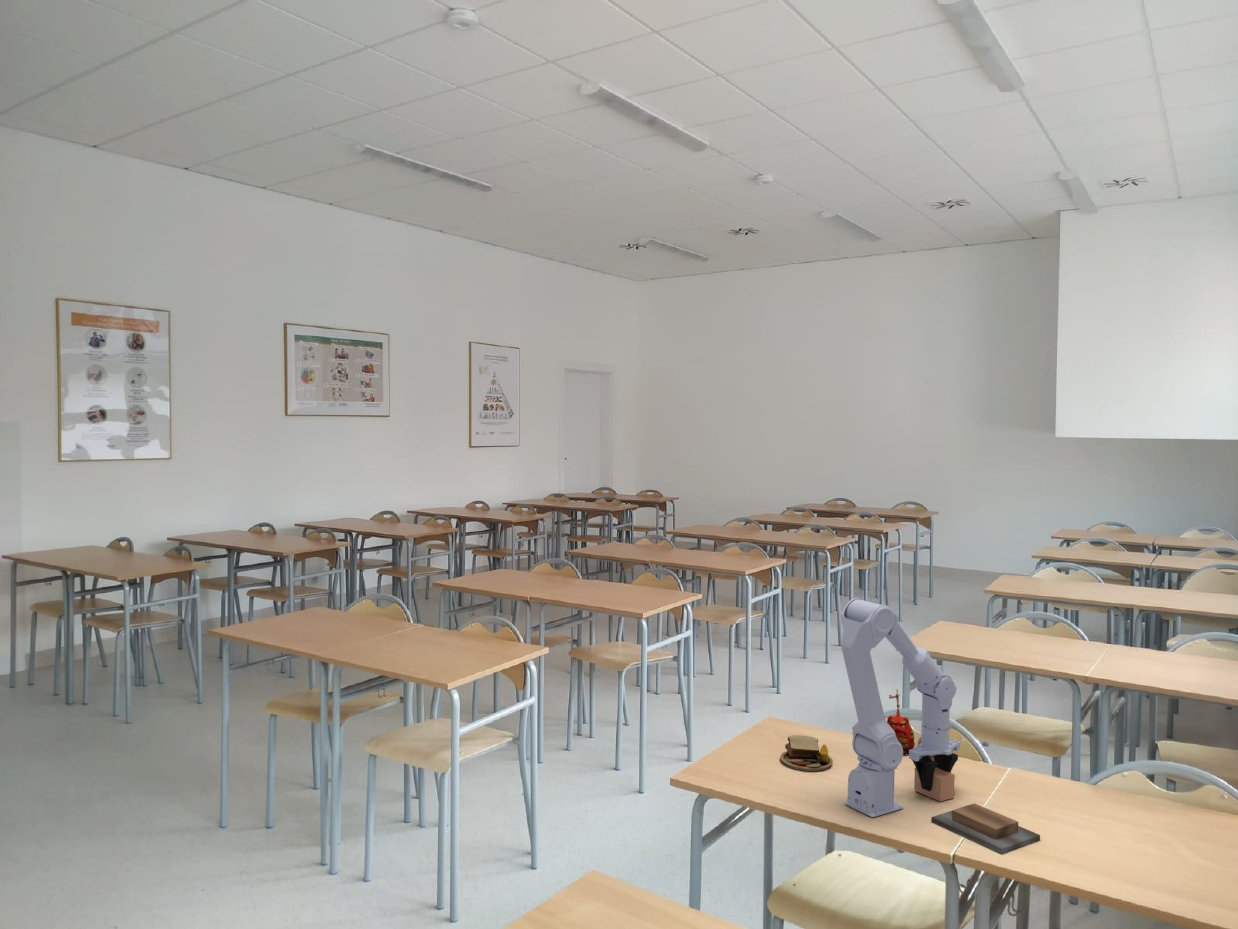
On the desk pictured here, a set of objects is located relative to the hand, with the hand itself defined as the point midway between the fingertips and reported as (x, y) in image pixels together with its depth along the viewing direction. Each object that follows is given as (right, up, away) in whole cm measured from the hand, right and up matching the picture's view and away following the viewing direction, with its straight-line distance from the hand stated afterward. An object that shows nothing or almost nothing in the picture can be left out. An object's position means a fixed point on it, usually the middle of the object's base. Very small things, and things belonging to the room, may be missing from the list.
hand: (934, 787), depth 187 cm
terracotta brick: (0, -1, 0) cm, 1 cm away
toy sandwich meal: (-24, -2, +19) cm, 31 cm away
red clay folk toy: (+1, -2, +27) cm, 28 cm away
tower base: (+4, -2, -18) cm, 18 cm away
